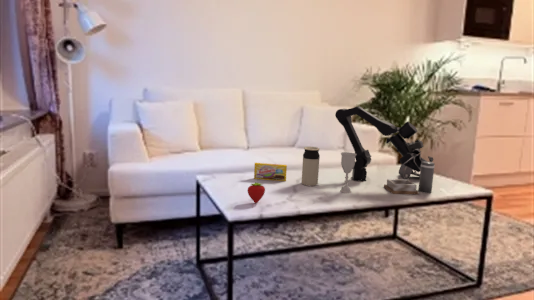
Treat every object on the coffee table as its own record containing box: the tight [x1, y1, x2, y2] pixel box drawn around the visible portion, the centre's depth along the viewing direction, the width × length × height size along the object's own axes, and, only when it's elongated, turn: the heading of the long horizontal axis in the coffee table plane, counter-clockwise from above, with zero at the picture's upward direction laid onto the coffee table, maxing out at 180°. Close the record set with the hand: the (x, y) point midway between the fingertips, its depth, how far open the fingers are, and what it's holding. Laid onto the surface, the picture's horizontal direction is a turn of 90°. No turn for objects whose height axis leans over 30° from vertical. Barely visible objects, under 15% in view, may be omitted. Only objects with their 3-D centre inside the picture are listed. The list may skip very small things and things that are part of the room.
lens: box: [417, 161, 436, 194], centre depth 206 cm, size 6×6×14 cm
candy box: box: [253, 162, 288, 182], centre depth 216 cm, size 16×2×8 cm, turn 83°
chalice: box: [339, 151, 357, 194], centre depth 199 cm, size 7×7×18 cm
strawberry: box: [247, 179, 266, 204], centre depth 176 cm, size 6×8×10 cm
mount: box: [383, 178, 420, 195], centre depth 206 cm, size 12×12×4 cm
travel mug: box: [301, 146, 320, 187], centre depth 209 cm, size 8×8×18 cm
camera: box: [398, 140, 434, 180], centre depth 234 cm, size 11×17×20 cm, turn 86°
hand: (421, 170), depth 207 cm, fingers open, 9 cm apart
